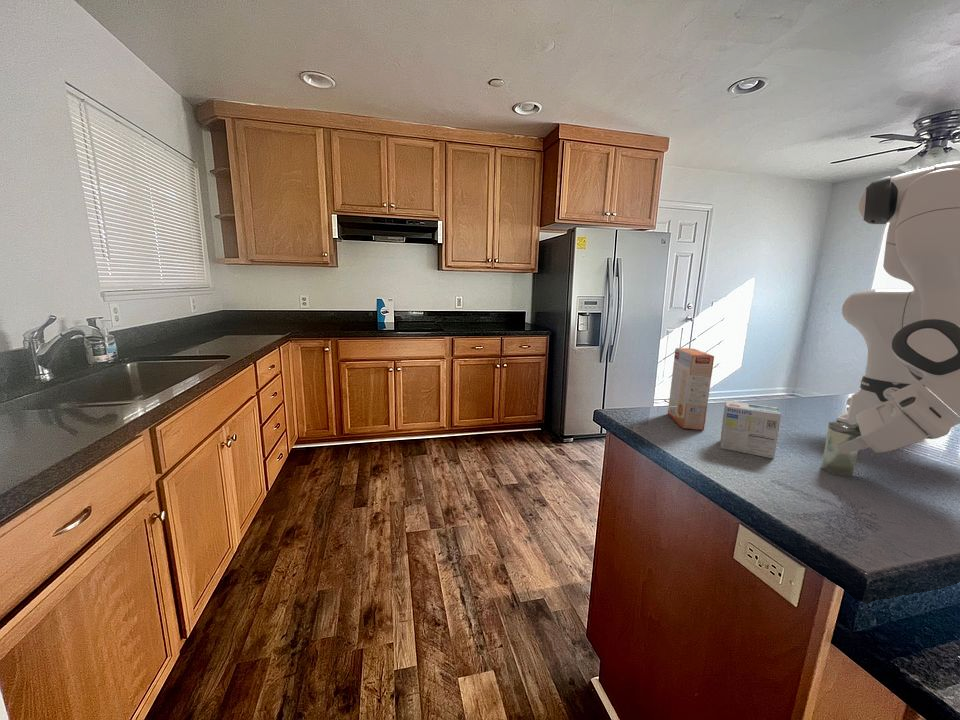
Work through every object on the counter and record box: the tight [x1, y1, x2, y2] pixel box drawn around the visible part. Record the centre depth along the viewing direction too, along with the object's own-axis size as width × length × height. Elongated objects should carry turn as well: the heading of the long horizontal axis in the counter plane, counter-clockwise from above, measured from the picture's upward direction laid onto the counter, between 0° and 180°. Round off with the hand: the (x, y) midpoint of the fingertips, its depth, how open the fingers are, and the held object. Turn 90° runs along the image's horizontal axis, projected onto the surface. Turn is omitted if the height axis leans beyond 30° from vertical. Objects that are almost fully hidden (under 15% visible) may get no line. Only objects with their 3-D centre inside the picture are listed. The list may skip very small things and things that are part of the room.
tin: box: [820, 421, 861, 478], centre depth 78 cm, size 5×5×10 cm
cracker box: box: [667, 347, 715, 431], centre depth 106 cm, size 14×6×21 cm, turn 168°
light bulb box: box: [719, 400, 782, 459], centre depth 88 cm, size 11×7×11 cm, turn 58°
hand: (839, 443), depth 78 cm, fingers open, 8 cm apart
